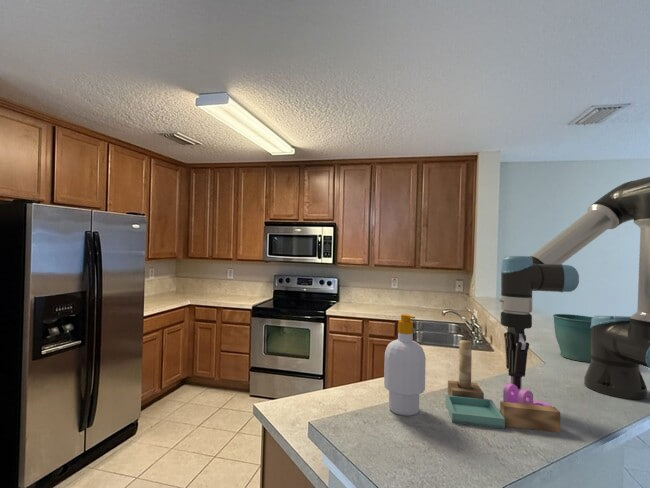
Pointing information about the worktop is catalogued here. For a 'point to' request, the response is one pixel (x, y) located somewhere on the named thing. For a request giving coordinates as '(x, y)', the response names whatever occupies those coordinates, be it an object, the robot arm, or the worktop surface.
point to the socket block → (464, 390)
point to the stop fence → (530, 416)
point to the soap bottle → (404, 370)
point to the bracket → (520, 396)
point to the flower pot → (573, 336)
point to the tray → (474, 411)
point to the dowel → (465, 364)
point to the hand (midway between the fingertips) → (515, 399)
